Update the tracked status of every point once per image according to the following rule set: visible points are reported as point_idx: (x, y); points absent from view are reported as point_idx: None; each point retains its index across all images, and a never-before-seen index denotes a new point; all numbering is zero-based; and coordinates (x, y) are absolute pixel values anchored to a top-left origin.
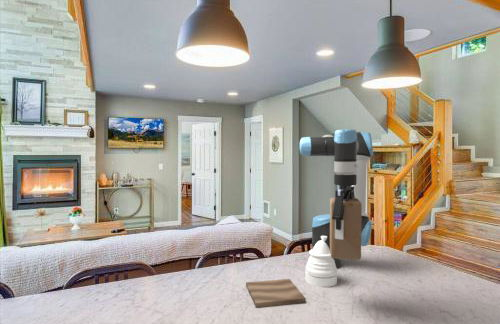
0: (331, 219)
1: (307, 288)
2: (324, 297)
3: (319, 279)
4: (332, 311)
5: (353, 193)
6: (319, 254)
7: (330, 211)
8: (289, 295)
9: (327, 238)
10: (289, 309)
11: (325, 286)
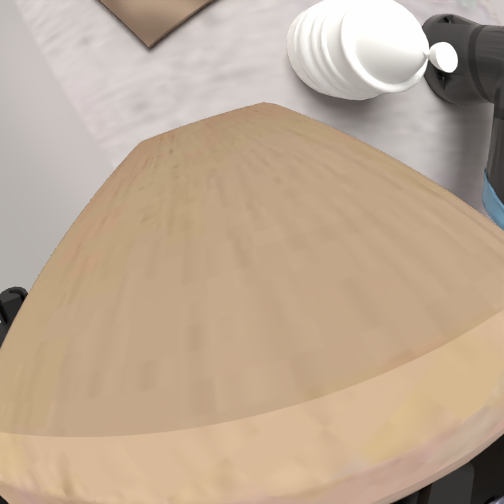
0: (52, 254)
1: (254, 21)
2: (212, 82)
3: (293, 48)
4: (136, 129)
5: (472, 500)
6: (352, 38)
7: (181, 238)
8: (145, 1)
9: (498, 76)
10: (91, 33)
11: (293, 68)
